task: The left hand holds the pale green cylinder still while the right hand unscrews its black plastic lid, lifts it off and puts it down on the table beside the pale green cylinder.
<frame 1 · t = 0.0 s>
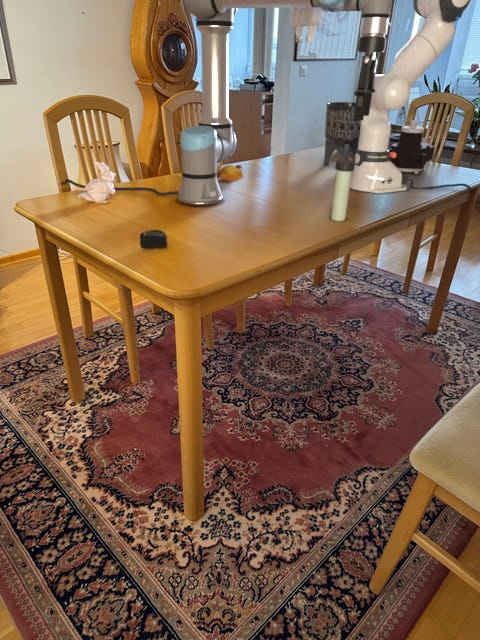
left hand: (361, 117, 139), 28 cm above the table, tool pointing down, fingers open, 13 cm apart
right hand: (304, 42, 147), 48 cm above the table, tool pointing down, fingers open, 8 cm apart
figurine: (99, 201, 154), on the table
toy: (230, 179, 185), on the table
rock: (348, 152, 245), on the table
planter: (341, 167, 211), on the table
mechanical component: (408, 169, 209), on the table
lid: (345, 162, 134), point 17 cm above the table, screwed on, not yet turned
tape measure: (155, 248, 118), on the table
pale green cylinder: (338, 218, 143), on the table
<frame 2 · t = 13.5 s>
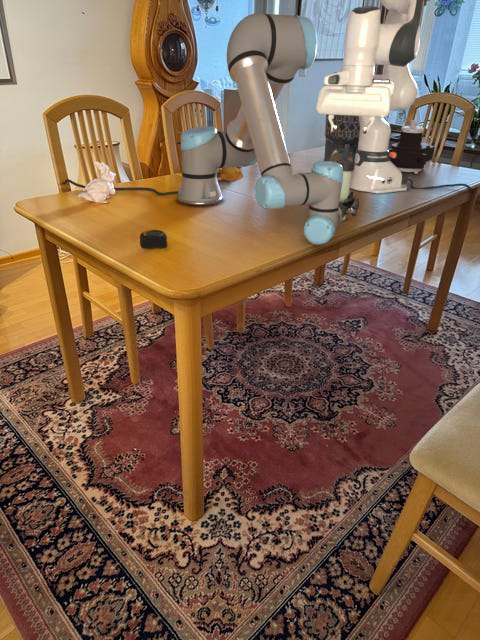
left hand: (343, 195, 144), 6 cm above the table, tool horizontal, fingers closed on pale green cylinder, 5 cm apart
right hand: (349, 132, 130), 25 cm above the table, tool pointing down, fingers open, 8 cm apart
pale green cylinder: (338, 218, 143), on the table, touching left hand
everything else where it was.
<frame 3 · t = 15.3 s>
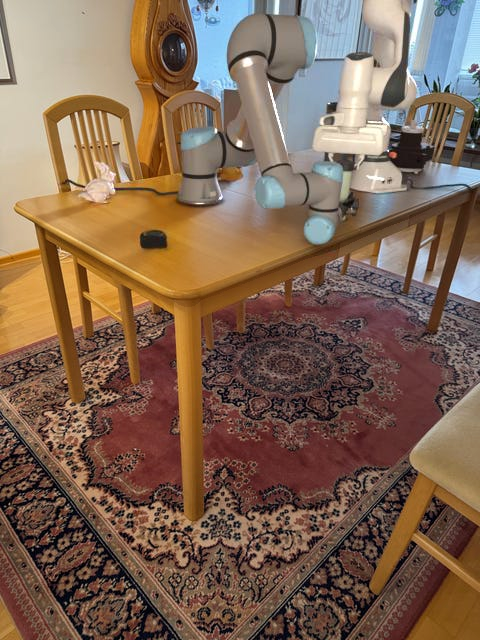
left hand: (343, 195, 144), 6 cm above the table, tool horizontal, fingers closed on pale green cylinder, 5 cm apart
right hand: (344, 169, 135), 15 cm above the table, tool pointing down, fingers closed on lid, 5 cm apart
lid: (345, 162, 134), point 17 cm above the table, screwed on, not yet turned, touching right hand
pale green cylinder: (338, 218, 143), on the table, touching left hand
everything else where it was.
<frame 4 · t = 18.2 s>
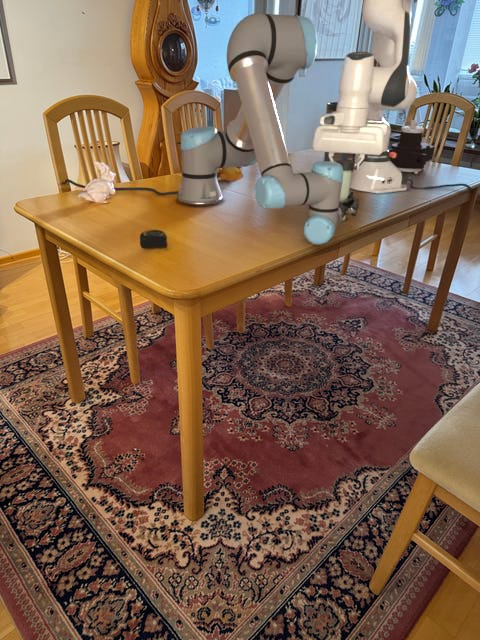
left hand: (343, 195, 144), 6 cm above the table, tool horizontal, fingers closed on pale green cylinder, 5 cm apart
right hand: (344, 168, 135), 15 cm above the table, tool pointing down, fingers closed on lid, 5 cm apart
lid: (345, 162, 134), point 17 cm above the table, turned 57° so far, risen 0.2 cm, still on its thread, touching right hand
pale green cylinder: (338, 218, 143), on the table, touching left hand
everything else where it was.
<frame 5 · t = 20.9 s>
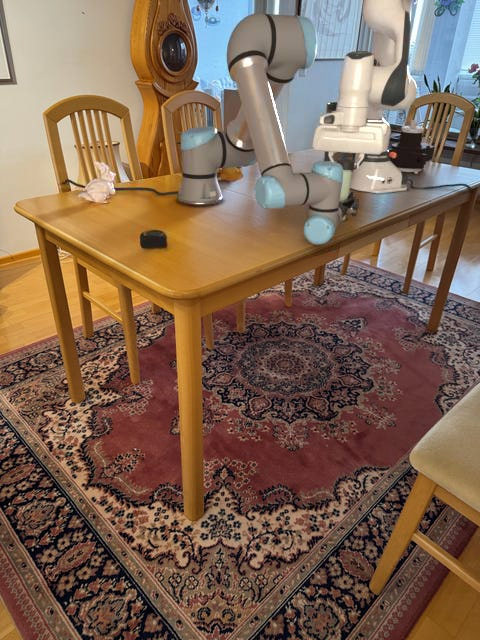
left hand: (343, 195, 144), 6 cm above the table, tool horizontal, fingers closed on pale green cylinder, 5 cm apart
right hand: (344, 168, 135), 15 cm above the table, tool pointing down, fingers closed on lid, 5 cm apart
lid: (345, 161, 134), point 17 cm above the table, turned 114° so far, risen 0.3 cm, still on its thread, touching right hand
pale green cylinder: (337, 218, 143), on the table, touching left hand
everything else where it was.
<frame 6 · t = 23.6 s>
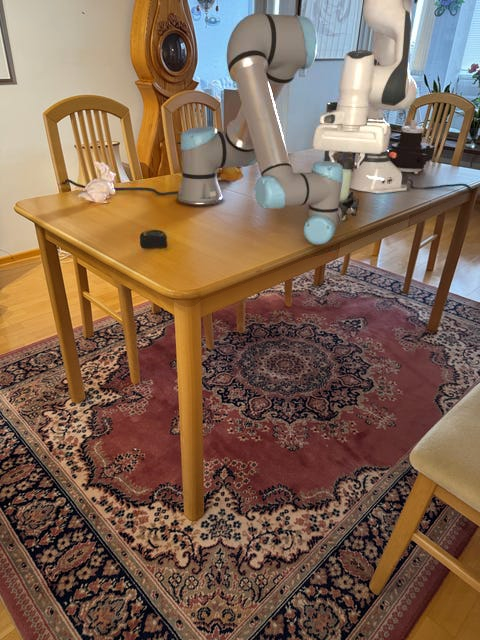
left hand: (343, 195, 144), 6 cm above the table, tool horizontal, fingers closed on pale green cylinder, 5 cm apart
right hand: (344, 167, 135), 16 cm above the table, tool pointing down, fingers closed on lid, 5 cm apart
lid: (345, 161, 134), point 17 cm above the table, turned 171° so far, risen 0.5 cm, still on its thread, touching right hand
pale green cylinder: (337, 218, 143), on the table, touching left hand
everything else where it was.
when the right hand's fingers open (2 cm above the table, at t = 30.8 s): lid drops 2 cm, point 2 cm above the table.
when the left hand's fingers open (6 cm above the table, at t = 31.6 s): pale green cylinder stays where it is, on the table.
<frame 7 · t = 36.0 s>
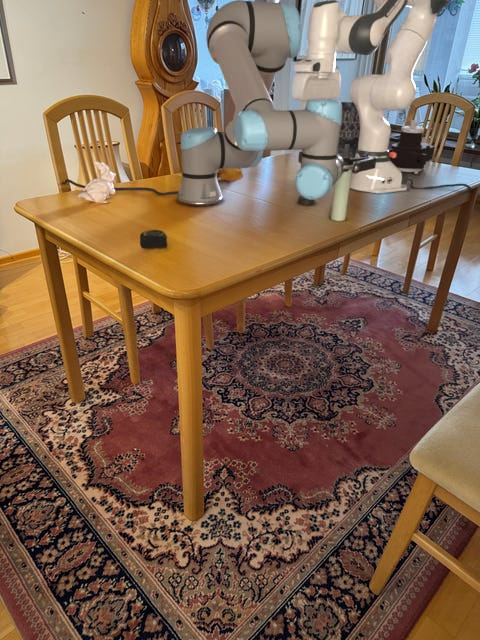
left hand: (341, 154, 125), 21 cm above the table, tool horizontal, fingers open, 13 cm apart
right hand: (315, 115, 144), 28 cm above the table, tool pointing down, fingers open, 8 cm apart
lid: (306, 197, 156), point 2 cm above the table, off its thread
pale green cylinder: (337, 218, 143), on the table
everything else where it was.
at the end: lid came off its thread; lid point 1.9 cm above the table; the left hand is holding nothing; the right hand is holding nothing; pale green cylinder tilted 0°; pale green cylinder moved 0.0 cm from its start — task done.
